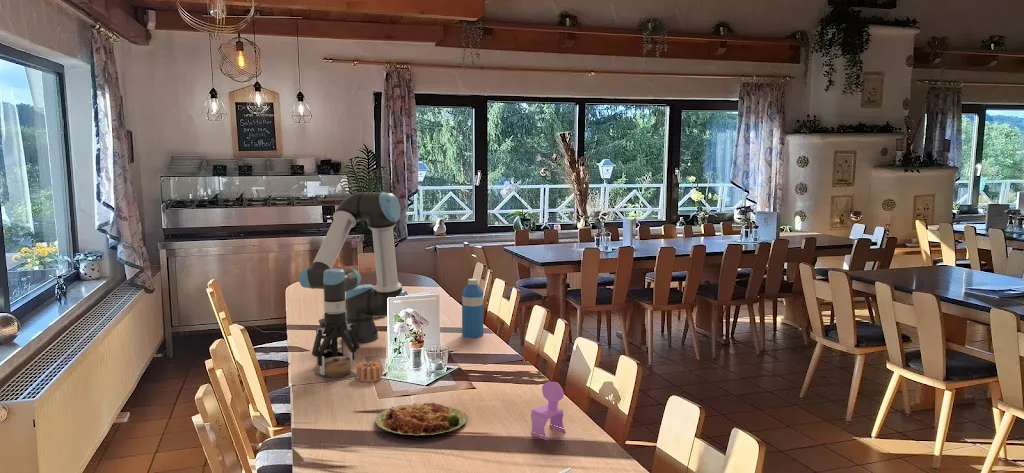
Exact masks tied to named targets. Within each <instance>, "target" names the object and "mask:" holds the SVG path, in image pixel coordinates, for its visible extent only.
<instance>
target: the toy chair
mask: <svg viewBox="0 0 1024 473" xmlns="http://www.w3.org/2000/svg"><path fill="white" fill-rule="evenodd" d="M541 392H542V396H543V398H544V399H546V400H547V402H548V403H547V404H544V405H542V406H538V407H536V408H533V409H531V413H530V418H531V419H530V420H531V433H530V435H532V436H535V437H536V438H540V439H542V440H545V441H548V436H547V435H546V432H545V427H546V424H547V422H548V421H549V419H550V422H549V428H551V429H553V430H557V431H559V432H562V433H564V434H566V430H565V429H566V428H565V426H564V424H563V423H564V422H563V419H564V411H563V409H561V408H559V407H558V405H559V402H560V401H561V400H562V399H563V398H564V396H565V393H564V390H563V388H562V386H561V385H560V384H559V382H556V381H547V382H545V383H543V384H542V386H541ZM551 424H552V425H551ZM554 425H555V426H554ZM556 426H558V427H556ZM559 427H562V428H564V429H562V428H559ZM534 432H535V433H534ZM540 434H541V435H540ZM542 435H543V436H542ZM545 436H546V437H545Z"/></svg>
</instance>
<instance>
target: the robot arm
mask: <svg viewBox="0 0 1024 473" xmlns="http://www.w3.org/2000/svg"><path fill="white" fill-rule="evenodd" d="M401 210H402V209H401V204H400V202H399V199H398V197H397V196H396V195H395V194H394V193H391V192H384V191H383V192H370V191H369V192H366V191H365V192H364V191H359V192H355V193H353V194H351V195H349V196H348V197H346V198H345V199H344V200H343V201H341V203H339V205H338V206H337V208H336V209H335V210H334V212H333V214H332V215H333V216H332V218H333V221H332V223H331V225H330V226H329V229H328V230H327V233H326V235H325V237H324V239H323V241H322V243H321V244H320V248H319V250H318V252H317V253H316V255H315V257H314V260H313V262H312V263H311V265H310V267H307V268H305V267H304V268H303V269H301V271H300V273H299V275H298V280H299V284H300V286H301V287H302V288H304V289H305V288H306V289H312V290H313V289H316V290H318V289H319V290H323V311H324V312H325V313H324V318H323V319H324V320H325V326H324V328H321V327H320V328H319V327H317V328H316V329H315V332H316V335H315V339H314V343H313V345H312V346H313V347H312V349H311V355H312V356H314V357H317V358H316V362H317V366H319V372H320V374H322V375H325V361H324V357H323V354H324V353H325V352H326V351H325V350H326V348H327V346H328V344H329V342H330V340H331V339H332V338H335V337H340V338H341V340H342V339H343V343H344V345H346V347H347V348H348V350H347V355H346V356H347V358H349V359H350V370H351V371H353V370H354V369H353V361H354V360H355V358H356V357H355V353H357V352H356V351H357V350H360V345H359V344H362V343H363V344H364V343H369V342H373V341H377V340H378V339H379V332H378V329H377V325H376V323H375V318H374V316H381V317H380V318H382V317H384V318H388V317H387V298H388V297H396V296H405V295H408V296H409V294H408V292H407V290H405V289H403V287H402V286H403V285H402V283H401V282H399V279H398V270H397V259H396V258H397V257H396V256H397V255H396V247H395V236H394V227H395V226H396V225H397V222H398V221H399V220H400V217H401V212H402V211H401ZM359 221H360V222H361V221H365V222H367V228H369V229H370V230H371V232H372V234H371V235H372V242H373V245H372V246H373V251H374V252H373V254H374V264H375V274H376V275H375V276H376V285H373V284H369V283H368V284H361V281H362V276H361V274H360V272H359V270H357V269H355V268H347V269H342V268H335V267H334V265H335V263H336V261H337V258H338V257H339V254H340V252H341V250H342V249H343V246H344V244H345V242H346V239H347V238H348V235H349V233H350V231H351V229H352V228H354V227H355V226H356V224H357V222H359ZM333 267H334V268H333ZM345 300H346V308H345ZM345 310H346V312H345ZM324 331H325V332H326V334H323V332H324ZM322 334H323V335H325V337H324V339H322ZM320 343H321V346H320ZM319 347H320V348H319Z"/></svg>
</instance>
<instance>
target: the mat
mask: <svg viewBox="0 0 1024 473" xmlns="http://www.w3.org/2000/svg"><path fill="white" fill-rule="evenodd" d="M314 374H315V375H316V376H318V377H319V378H321V379H322V380H324V382H326V383H330V382H335V381H340V380H346V379H350V378H357V372H355V371H353V370H351V373H350V375H348V376H346V377H342V378H326V377H324V376H323V375H322V374H320V371H316V372H314Z"/></svg>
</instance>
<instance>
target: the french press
mask: <svg viewBox="0 0 1024 473" xmlns="http://www.w3.org/2000/svg"><path fill="white" fill-rule="evenodd" d="M318 323H319V327H320V328H324V326H325V320H324V318H321V319H318ZM325 335H326V332H325V331H324V332H323V334H322V339H321V340H324V337H325ZM340 338H341V337H335V338H332V339H331V340H330V342H329V344H328V346H327V348H326V350H325V352H324V354H323V357H324V359H326V358H330V357H345V356H344V340H343V339H342V338H341V344H340V343H338V339H340ZM321 344H322V342H321V343H320V346H321ZM319 348H320V347H319Z"/></svg>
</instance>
